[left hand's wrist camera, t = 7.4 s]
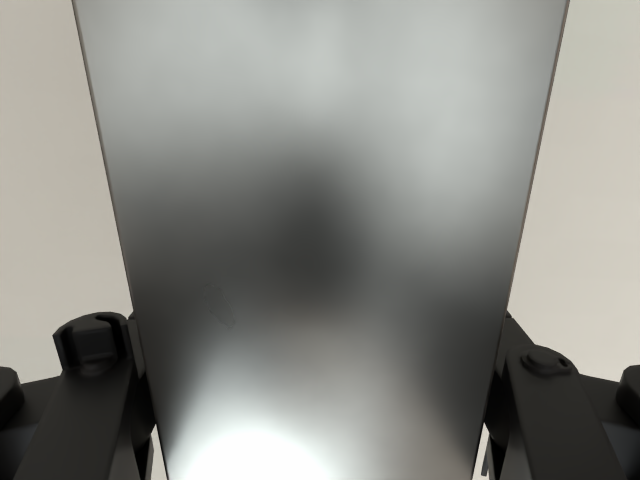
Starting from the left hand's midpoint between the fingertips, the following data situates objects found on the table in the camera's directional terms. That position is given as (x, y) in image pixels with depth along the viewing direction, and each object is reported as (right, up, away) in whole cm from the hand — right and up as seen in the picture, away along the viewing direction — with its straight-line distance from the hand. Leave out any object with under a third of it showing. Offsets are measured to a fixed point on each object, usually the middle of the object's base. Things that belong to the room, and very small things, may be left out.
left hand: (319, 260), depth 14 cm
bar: (0, +7, -2) cm, 8 cm away
